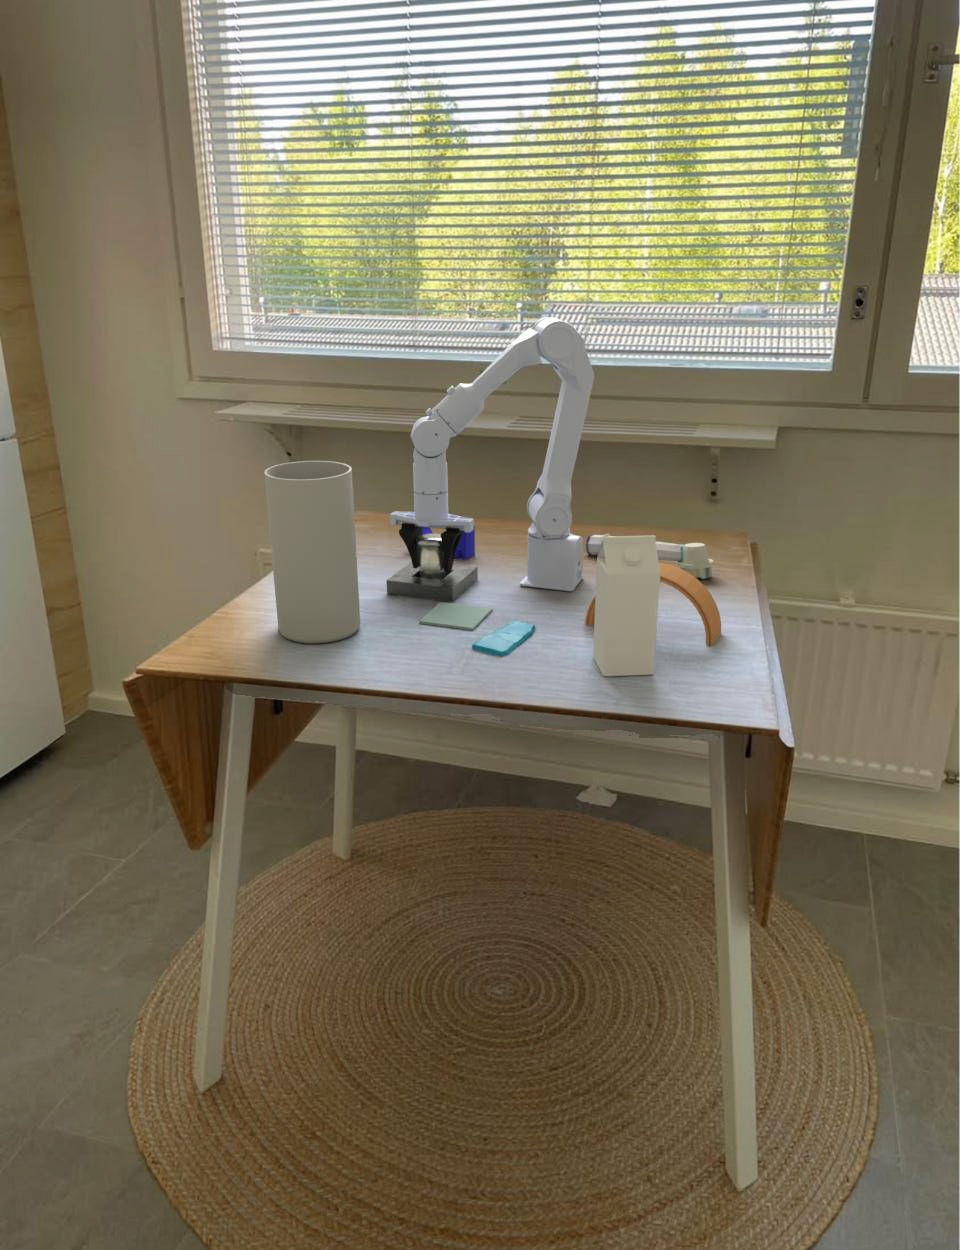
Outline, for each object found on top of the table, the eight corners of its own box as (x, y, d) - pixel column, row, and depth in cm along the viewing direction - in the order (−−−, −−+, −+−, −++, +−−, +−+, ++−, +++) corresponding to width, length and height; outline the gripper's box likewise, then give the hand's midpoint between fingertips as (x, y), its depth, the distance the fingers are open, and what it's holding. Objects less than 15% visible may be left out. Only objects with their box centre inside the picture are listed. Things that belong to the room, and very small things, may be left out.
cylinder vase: (377, 629, 149) (369, 469, 140) (310, 652, 141) (297, 484, 131) (327, 609, 157) (317, 457, 148) (262, 630, 149) (247, 470, 140)
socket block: (477, 579, 170) (477, 566, 169) (452, 602, 160) (452, 588, 159) (415, 572, 174) (414, 559, 173) (387, 594, 164) (386, 580, 163)
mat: (492, 610, 156) (492, 608, 156) (473, 630, 148) (473, 628, 148) (441, 604, 159) (440, 601, 159) (419, 623, 151) (419, 620, 151)
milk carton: (592, 656, 139) (598, 529, 132) (641, 655, 139) (649, 528, 132) (602, 677, 132) (608, 545, 125) (653, 675, 133) (662, 543, 126)
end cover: (453, 583, 168) (452, 535, 165) (441, 593, 164) (440, 544, 161) (424, 580, 170) (423, 532, 167) (412, 590, 166) (411, 541, 162)
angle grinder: (597, 530, 185) (717, 536, 170) (600, 564, 187) (719, 573, 171) (582, 537, 182) (703, 543, 166) (585, 571, 184) (705, 580, 168)
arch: (597, 613, 155) (600, 554, 152) (721, 634, 147) (727, 572, 143) (584, 625, 151) (587, 564, 147) (711, 647, 142) (717, 583, 138)
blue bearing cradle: (409, 552, 186) (408, 522, 184) (422, 546, 189) (421, 517, 187) (462, 562, 180) (462, 531, 178) (474, 556, 184) (474, 525, 182)
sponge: (547, 628, 148) (515, 616, 150) (503, 653, 138) (470, 640, 141) (545, 637, 148) (514, 624, 151) (502, 663, 139) (469, 649, 142)
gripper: (381, 492, 159) (384, 570, 165) (462, 500, 155) (463, 579, 160) (398, 483, 166) (401, 558, 171) (477, 489, 161) (478, 567, 166)
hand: (432, 568), depth 166 cm, fingers closed on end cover, 5 cm apart
